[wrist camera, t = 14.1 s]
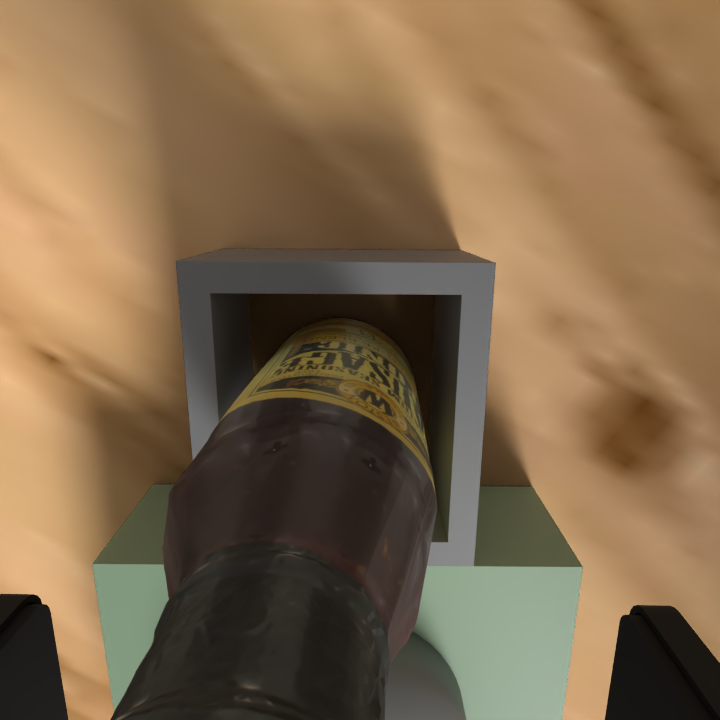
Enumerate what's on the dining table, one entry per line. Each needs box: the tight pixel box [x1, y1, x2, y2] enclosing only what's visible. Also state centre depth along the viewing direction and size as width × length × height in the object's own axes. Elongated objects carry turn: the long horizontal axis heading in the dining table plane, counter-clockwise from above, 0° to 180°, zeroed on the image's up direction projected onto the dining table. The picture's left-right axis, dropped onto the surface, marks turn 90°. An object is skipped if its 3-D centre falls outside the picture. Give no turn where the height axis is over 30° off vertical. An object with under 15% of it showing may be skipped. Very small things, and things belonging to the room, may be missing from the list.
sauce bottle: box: [111, 317, 437, 720], centre depth 14 cm, size 6×6×20 cm
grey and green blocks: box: [92, 249, 583, 720], centre depth 22 cm, size 18×25×9 cm
